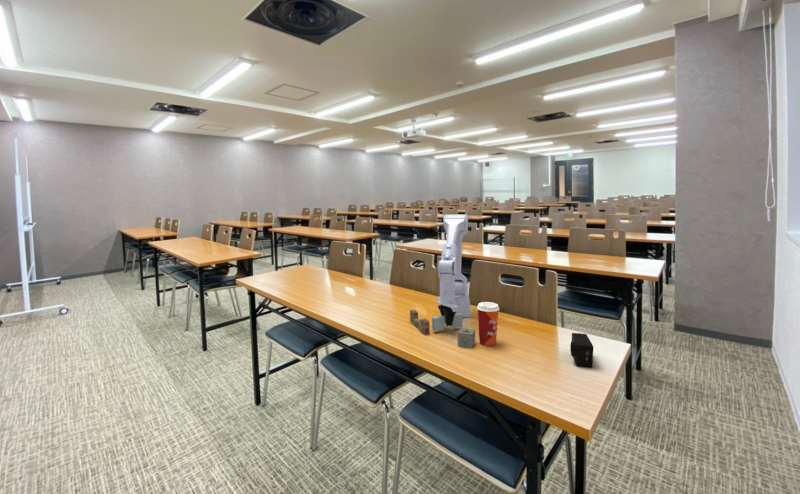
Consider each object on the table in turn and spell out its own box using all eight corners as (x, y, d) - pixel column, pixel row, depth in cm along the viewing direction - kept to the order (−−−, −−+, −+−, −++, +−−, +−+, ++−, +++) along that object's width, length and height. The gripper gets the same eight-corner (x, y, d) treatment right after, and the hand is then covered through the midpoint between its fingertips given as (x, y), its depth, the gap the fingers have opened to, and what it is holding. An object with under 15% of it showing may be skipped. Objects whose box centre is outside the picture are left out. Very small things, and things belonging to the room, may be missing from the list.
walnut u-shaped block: (410, 321, 152) (410, 310, 152) (414, 321, 153) (414, 309, 152) (424, 334, 137) (424, 322, 137) (429, 334, 138) (429, 321, 137)
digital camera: (566, 352, 120) (567, 332, 119) (585, 354, 118) (586, 333, 117) (572, 366, 110) (573, 344, 109) (592, 368, 108) (593, 346, 107)
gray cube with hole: (457, 346, 126) (457, 332, 126) (460, 341, 131) (460, 327, 130) (472, 348, 124) (472, 334, 124) (474, 342, 129) (474, 329, 128)
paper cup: (495, 349, 123) (495, 309, 121) (473, 344, 127) (473, 305, 125) (501, 341, 130) (502, 303, 128) (481, 337, 134) (481, 300, 132)
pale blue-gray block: (460, 325, 144) (460, 313, 143) (462, 326, 142) (462, 314, 141) (432, 329, 140) (432, 316, 140) (434, 331, 138) (434, 318, 138)
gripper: (430, 287, 145) (430, 319, 147) (446, 296, 131) (446, 332, 133) (446, 285, 147) (446, 317, 149) (463, 294, 133) (463, 329, 135)
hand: (447, 324), depth 141 cm, fingers closed on pale blue-gray block, 2 cm apart
